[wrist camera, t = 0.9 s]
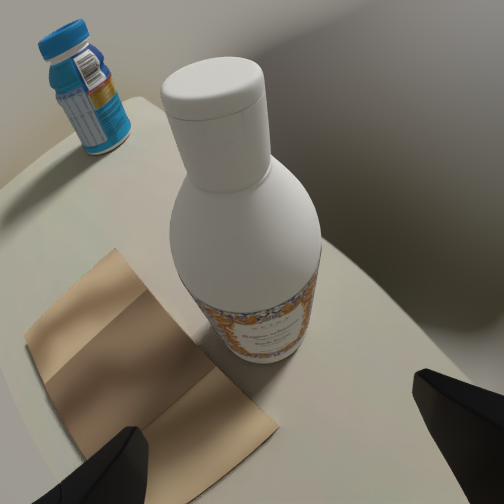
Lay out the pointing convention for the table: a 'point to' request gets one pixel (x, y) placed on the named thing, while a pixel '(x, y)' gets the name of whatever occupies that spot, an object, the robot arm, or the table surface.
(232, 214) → the bath foam
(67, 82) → the beverage bottle
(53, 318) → the wooden board
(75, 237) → the table surface
